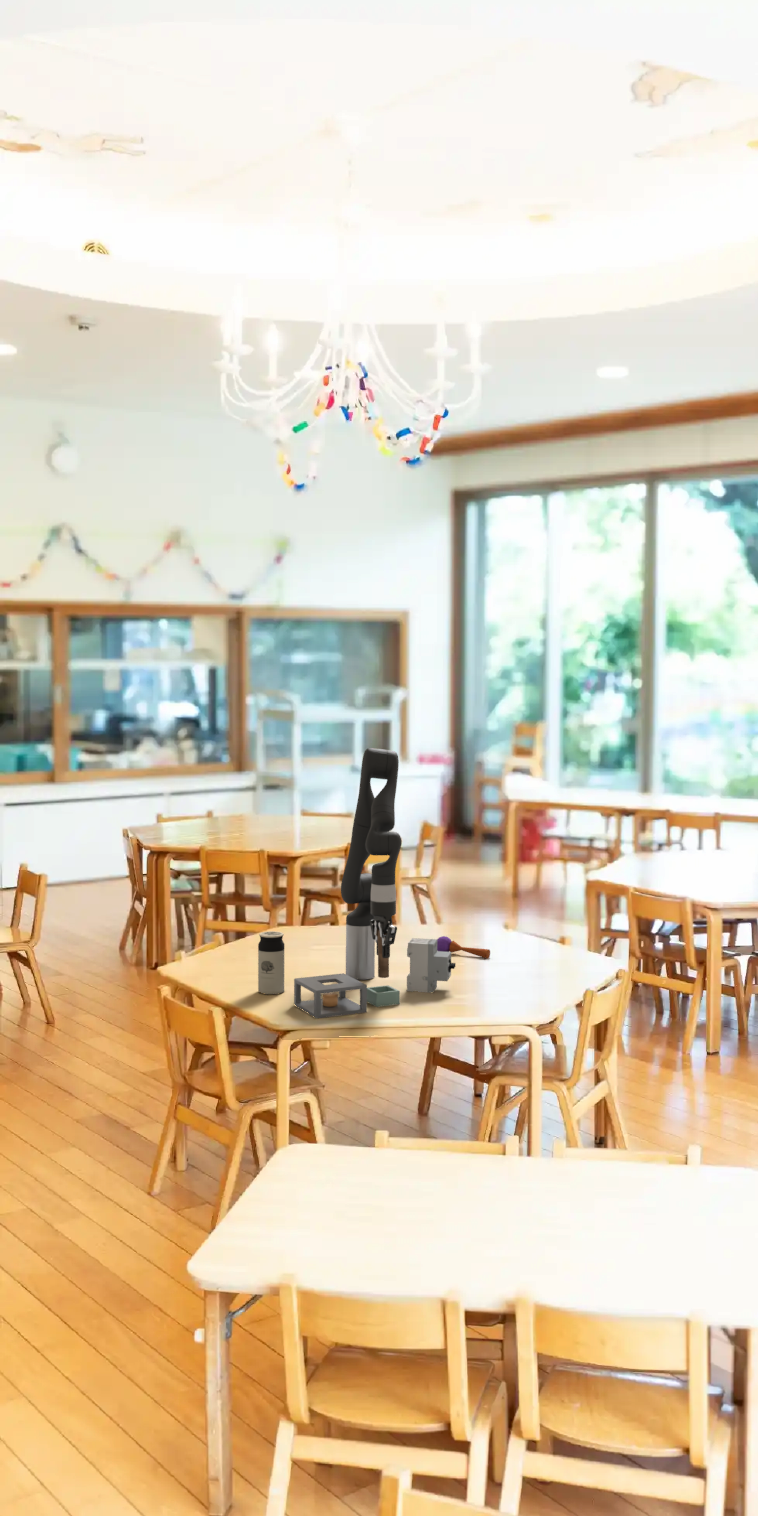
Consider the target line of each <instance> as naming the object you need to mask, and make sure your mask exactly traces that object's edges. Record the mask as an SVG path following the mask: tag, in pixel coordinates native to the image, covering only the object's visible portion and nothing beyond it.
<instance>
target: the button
mask: <svg viewBox="0 0 758 1516" xmlns="http://www.w3.org/2000/svg"><path fill="white" fill-rule="evenodd" d="M338 997H339V993H337V992H331V993H322V999H323V1006H327V1007H333V1006H337V1005H338Z"/></svg>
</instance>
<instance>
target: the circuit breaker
mask: <svg viewBox="0 0 758 1516" xmlns="http://www.w3.org/2000/svg"><path fill="white" fill-rule="evenodd" d="M437 939H438V938H436V939H435V938H414V937H412V938H411V939H410V940H409V941H408V942H407V949H406V957H408V958H409V973H408V975H406V992H413V991H418V992H419V993H431V992H433V993H434V992H435V990H436V988H437V986H438V982H448V981H449V979H450V978H451V976H452V970H454V969H455V968H456V962H452V953H451V952H443V951H437ZM418 992H417V993H418Z"/></svg>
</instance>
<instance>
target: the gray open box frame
mask: <svg viewBox="0 0 758 1516" xmlns="http://www.w3.org/2000/svg"><path fill="white" fill-rule="evenodd" d="M328 983H332V984H328ZM302 987H303V988H304V989H306V990H308V991H310V992H311V993H313V999H308V1000H302ZM367 988H368V984H366V983H364V982H362V981H360V980H356V979H354V978H352V977H350V976H348V975H346V973H345V972H344V973H342V972H341V973H334V974H325V975H323V974H322V975H315V976H306V977H295V978H294V979H293V992H294V994H293V1001H294V1002H293V1005H294V1004H295V1005H296V1006H297V1007H296V1006H295V1007H296V1008H298V1007H299V1008H301V1009H303V1010H304V1011H306V1012H308V1013H309V1014H310V1015H309V1014H308V1013H307V1014H308V1015H309V1016H311V1015H312V1016H311V1017H313V1016H314V1017H315V1019H323V1018H331V1017H339V1016H347V1015H348V1016H349V1015H356V1014H355V1013H357V1014H364V1013H367V1012H368V1002H367ZM355 990H359V1003H357V1002H355V1001H354V1000H351V999H349V998H348V997H346V996H347V995H346V994H347V993H346V992H348V991H355ZM337 992H338V1005H337V1006H333V1007H327V1006H323V998H322V995H323V994H324V993H337ZM299 1008H298V1009H299ZM301 1009H300V1010H301ZM303 1010H302V1011H303ZM304 1011H303V1012H304ZM306 1012H305V1013H306ZM314 1017H313V1018H314Z"/></svg>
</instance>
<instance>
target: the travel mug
mask: <svg viewBox="0 0 758 1516" xmlns="http://www.w3.org/2000/svg"><path fill="white" fill-rule="evenodd" d="M284 934H285V933H283V932H282V931H274V930H272V931H269V930H268V931H262V932H260V933H258V935H259V939H260V941H259V942H258V943H257V946H258V948H257V949H258V951H257V952H258V953H257V957H258V958H257V959H258V961H257V965H258V967H257V968H258V969H257V970H258V972H257V973H258V974H257V975H258V976H257V979H258V981H257V982H258V983H257V984H258V985H257V990H258V991H257V992H259V993H260V992H261V993H260V994H262V993H265V994H264V995H269V994H273V995H279V994H278V993H280V994H282V993H284V992H285V942H284V940H283V938H284V937H283V936H284Z"/></svg>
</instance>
